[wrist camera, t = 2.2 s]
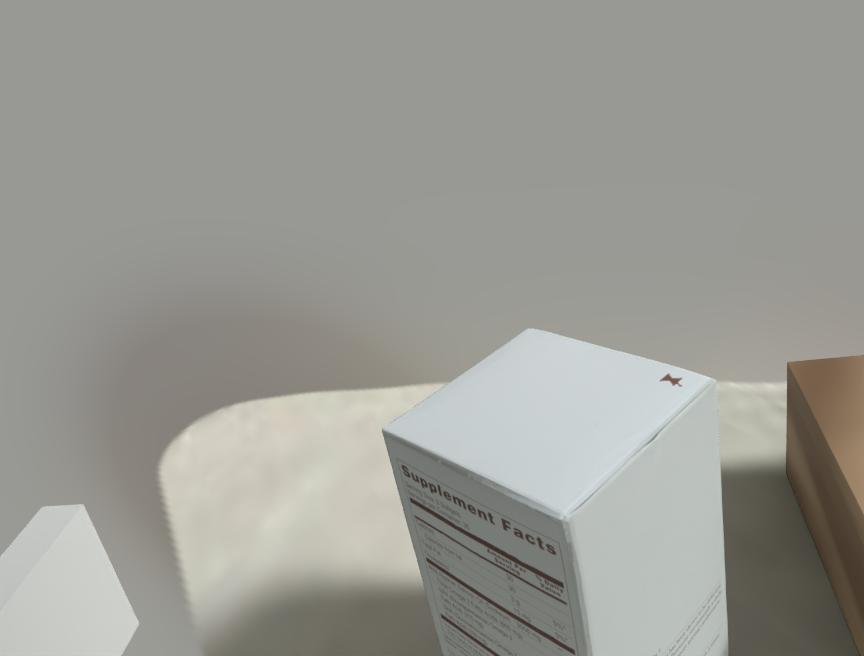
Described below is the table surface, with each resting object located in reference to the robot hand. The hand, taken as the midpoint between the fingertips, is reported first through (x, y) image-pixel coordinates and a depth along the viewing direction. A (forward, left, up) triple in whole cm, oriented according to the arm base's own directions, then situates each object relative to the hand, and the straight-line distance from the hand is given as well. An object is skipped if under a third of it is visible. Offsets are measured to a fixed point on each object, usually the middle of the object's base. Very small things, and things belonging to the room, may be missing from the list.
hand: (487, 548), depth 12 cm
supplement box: (0, -11, -17) cm, 20 cm away
